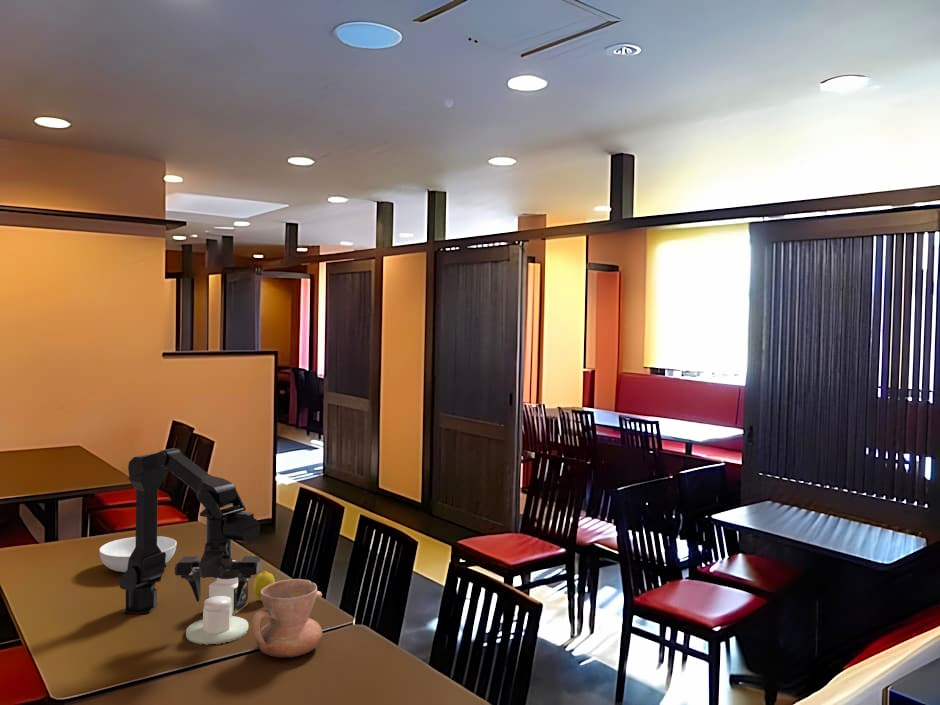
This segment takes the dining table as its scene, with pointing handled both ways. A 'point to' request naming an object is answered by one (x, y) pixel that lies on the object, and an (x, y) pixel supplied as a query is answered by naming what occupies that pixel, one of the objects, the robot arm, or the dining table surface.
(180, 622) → the dining table surface
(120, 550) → the serving bowl
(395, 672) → the dining table surface
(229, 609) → the white lidded jar
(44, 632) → the dining table surface
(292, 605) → the ceramic jug
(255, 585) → the lemon
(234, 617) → the post stand
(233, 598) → the medicine bottle
